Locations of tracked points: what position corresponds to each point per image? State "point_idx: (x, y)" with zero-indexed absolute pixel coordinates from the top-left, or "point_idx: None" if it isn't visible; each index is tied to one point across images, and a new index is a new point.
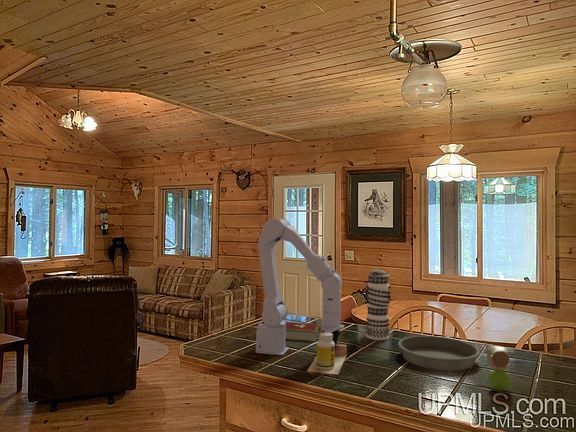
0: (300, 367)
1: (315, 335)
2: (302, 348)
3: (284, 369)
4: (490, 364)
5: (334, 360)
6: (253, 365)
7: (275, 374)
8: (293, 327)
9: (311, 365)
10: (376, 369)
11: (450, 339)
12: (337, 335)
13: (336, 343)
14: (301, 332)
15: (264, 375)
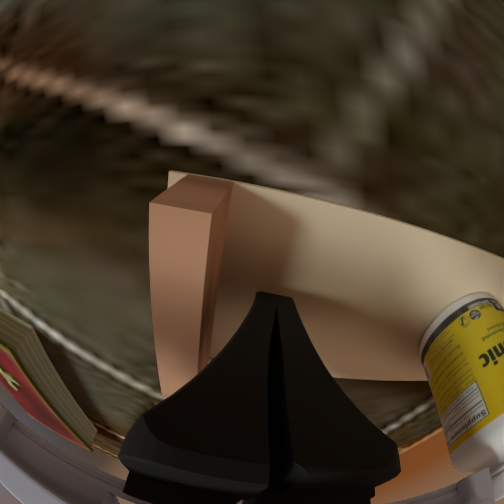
0: (414, 399)
1: (9, 329)
2: (145, 389)
3: (413, 422)
4: None
5: (502, 315)
6: None
7: (440, 424)
8: (28, 396)
9: (419, 378)
10: (500, 32)
11: None
12: (399, 464)
13: (262, 350)
14: (38, 384)
15: (435, 434)
